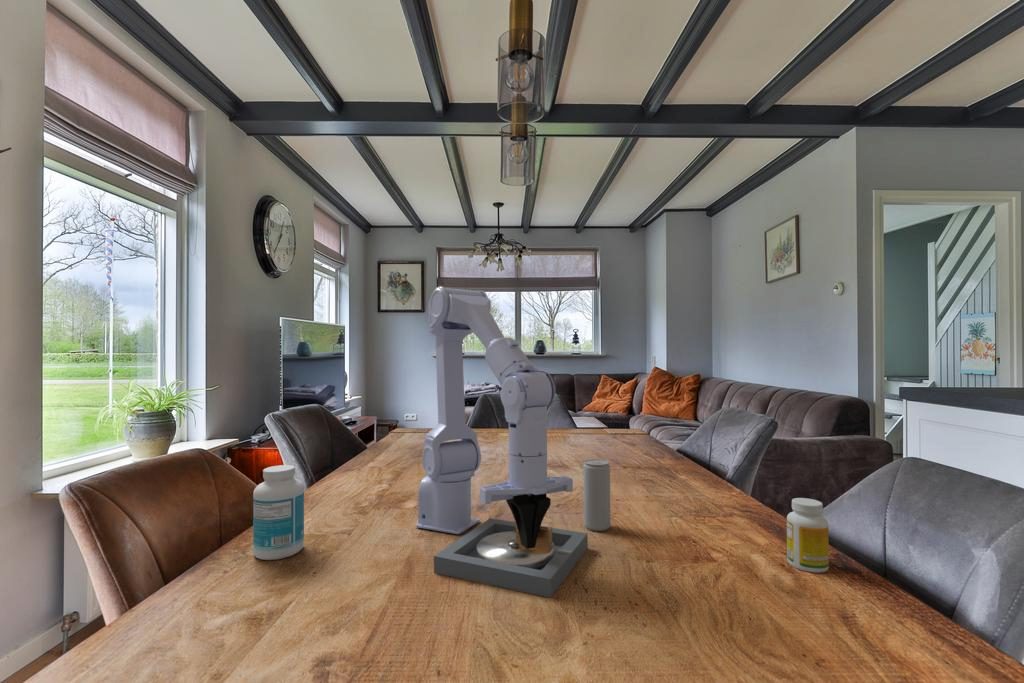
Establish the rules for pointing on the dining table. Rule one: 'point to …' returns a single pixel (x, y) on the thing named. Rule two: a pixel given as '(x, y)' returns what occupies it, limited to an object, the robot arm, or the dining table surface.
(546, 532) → the dial
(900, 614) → the dining table surface
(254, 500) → the pill bottle
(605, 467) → the beverage can
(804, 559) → the supplement bottle
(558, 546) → the slate tray
